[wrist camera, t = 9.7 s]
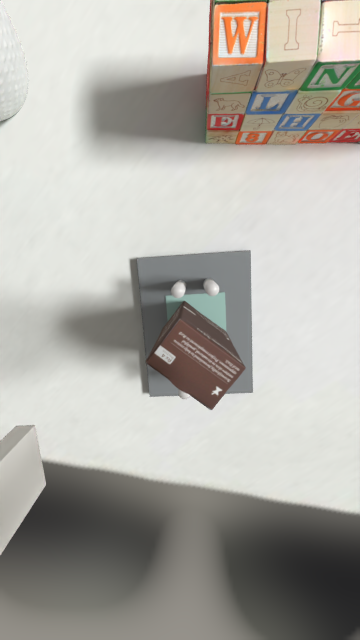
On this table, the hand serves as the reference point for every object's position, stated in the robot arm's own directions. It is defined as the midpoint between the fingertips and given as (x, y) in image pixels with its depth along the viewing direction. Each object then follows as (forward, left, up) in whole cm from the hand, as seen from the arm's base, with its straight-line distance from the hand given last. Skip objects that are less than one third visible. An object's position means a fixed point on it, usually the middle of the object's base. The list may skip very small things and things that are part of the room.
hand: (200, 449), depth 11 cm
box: (0, 0, -21) cm, 21 cm away
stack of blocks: (+13, +21, -22) cm, 33 cm away
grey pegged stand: (0, 0, -22) cm, 22 cm away
